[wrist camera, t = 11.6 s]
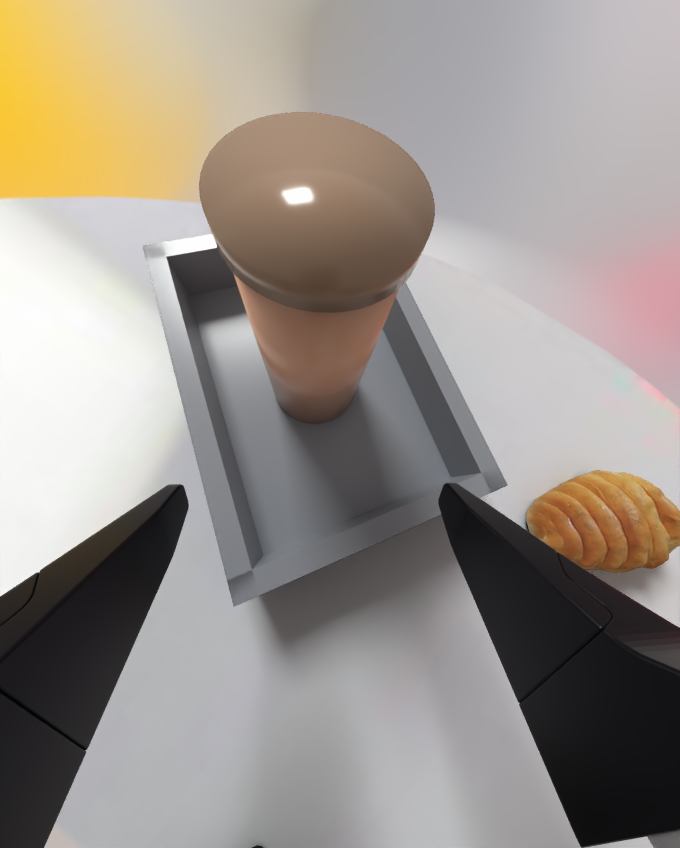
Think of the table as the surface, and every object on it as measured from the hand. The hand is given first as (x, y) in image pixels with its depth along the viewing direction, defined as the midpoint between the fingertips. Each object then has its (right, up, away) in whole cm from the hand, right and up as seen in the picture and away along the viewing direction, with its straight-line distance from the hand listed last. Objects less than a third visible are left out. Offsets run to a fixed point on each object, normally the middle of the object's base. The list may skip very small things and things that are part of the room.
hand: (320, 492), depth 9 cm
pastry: (+20, -5, +12) cm, 23 cm away
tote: (-1, +5, +11) cm, 13 cm away
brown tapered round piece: (-1, +5, +10) cm, 12 cm away
